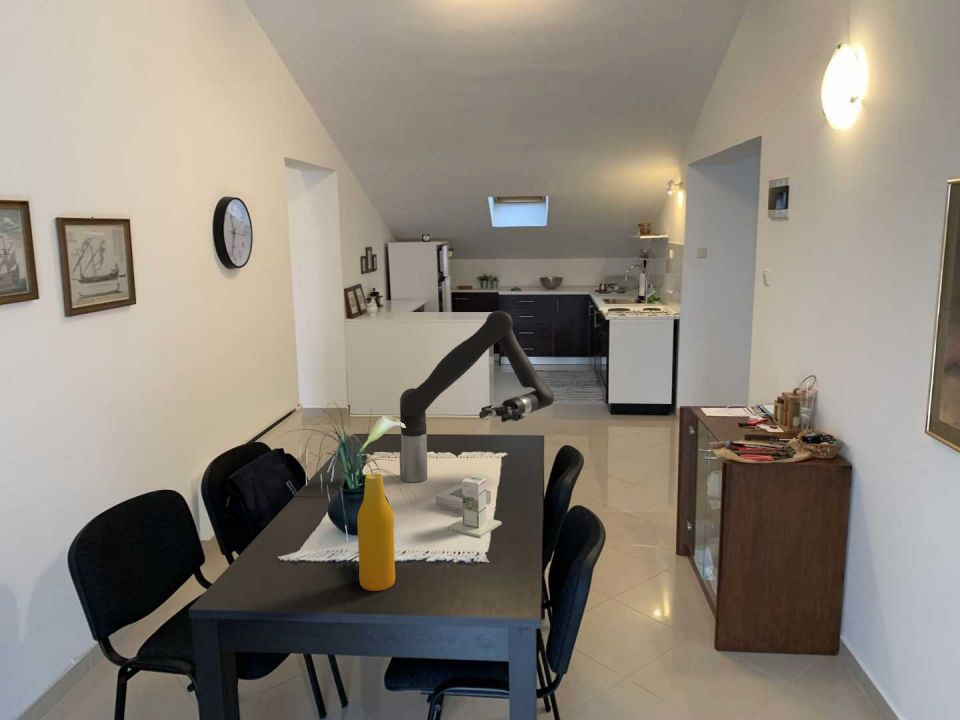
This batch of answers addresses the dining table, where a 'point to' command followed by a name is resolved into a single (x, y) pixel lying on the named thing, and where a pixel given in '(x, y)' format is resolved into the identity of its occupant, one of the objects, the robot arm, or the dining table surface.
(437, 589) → the dining table surface
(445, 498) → the housing
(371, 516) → the beer bottle
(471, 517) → the syrup box
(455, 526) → the pad
